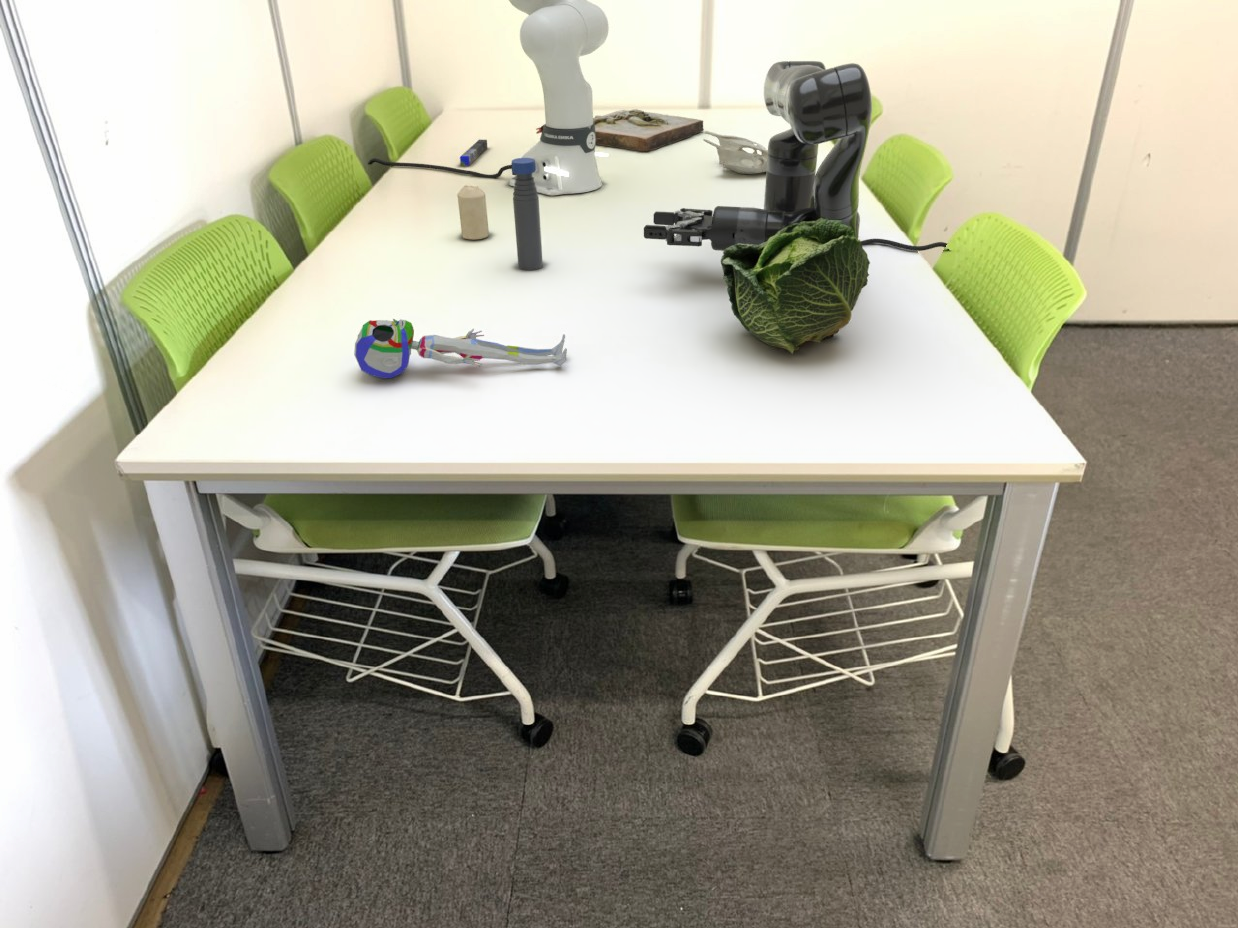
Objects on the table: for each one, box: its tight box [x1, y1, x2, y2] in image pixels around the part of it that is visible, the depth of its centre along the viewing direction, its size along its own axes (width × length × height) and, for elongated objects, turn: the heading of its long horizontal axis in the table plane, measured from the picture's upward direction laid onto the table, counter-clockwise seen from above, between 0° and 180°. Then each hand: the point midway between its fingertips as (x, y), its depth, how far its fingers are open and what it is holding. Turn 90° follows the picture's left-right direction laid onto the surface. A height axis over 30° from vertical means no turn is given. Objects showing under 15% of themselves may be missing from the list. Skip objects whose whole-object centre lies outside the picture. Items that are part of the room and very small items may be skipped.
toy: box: [353, 318, 568, 379], centre depth 130 cm, size 10×8×30 cm
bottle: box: [512, 173, 544, 271], centre depth 163 cm, size 5×5×19 cm
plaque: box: [593, 108, 705, 152], centre depth 257 cm, size 30×7×30 cm
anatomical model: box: [703, 130, 768, 175], centre depth 221 cm, size 15×9×25 cm
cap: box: [510, 157, 536, 174], centre depth 159 cm, size 4×4×2 cm
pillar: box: [459, 139, 488, 167], centre depth 240 cm, size 2×2×20 cm
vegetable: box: [720, 218, 871, 354], centre depth 134 cm, size 20×19×20 cm
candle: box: [456, 184, 490, 240], centre depth 181 cm, size 6×6×10 cm
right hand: (649, 224), depth 159 cm, fingers open, 8 cm apart
